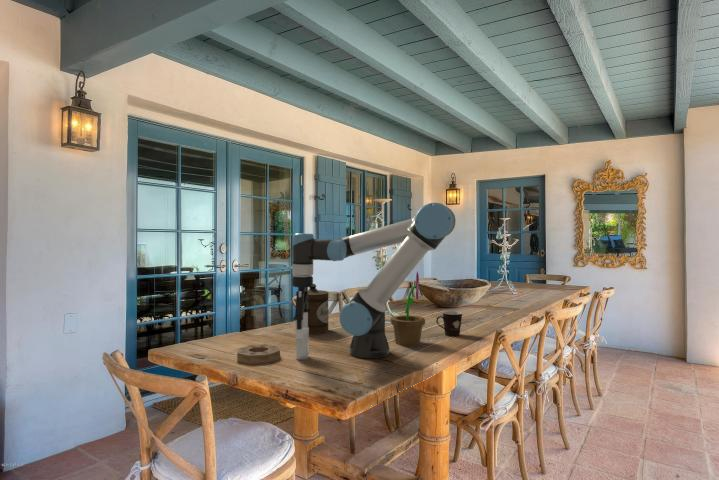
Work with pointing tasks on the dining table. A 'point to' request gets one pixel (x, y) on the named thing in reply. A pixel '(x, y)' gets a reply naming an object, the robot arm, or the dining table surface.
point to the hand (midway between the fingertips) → (301, 333)
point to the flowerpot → (408, 323)
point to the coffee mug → (451, 323)
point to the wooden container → (317, 311)
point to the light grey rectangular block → (303, 345)
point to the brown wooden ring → (258, 354)
